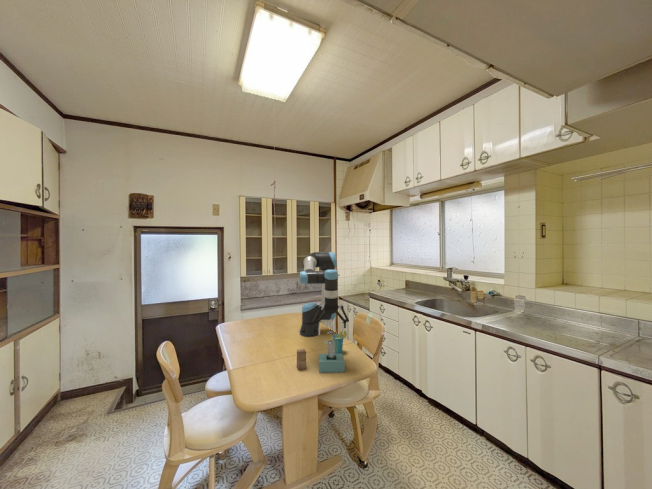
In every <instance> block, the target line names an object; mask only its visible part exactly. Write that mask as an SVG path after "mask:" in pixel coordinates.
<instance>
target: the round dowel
mask: <svg viewBox="0 0 652 489" xmlns="http://www.w3.org/2000/svg"><path fill="white" fill-rule="evenodd" d="M327 354H328V360H335V342H334V341H333V340H328V341H327Z"/></svg>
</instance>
